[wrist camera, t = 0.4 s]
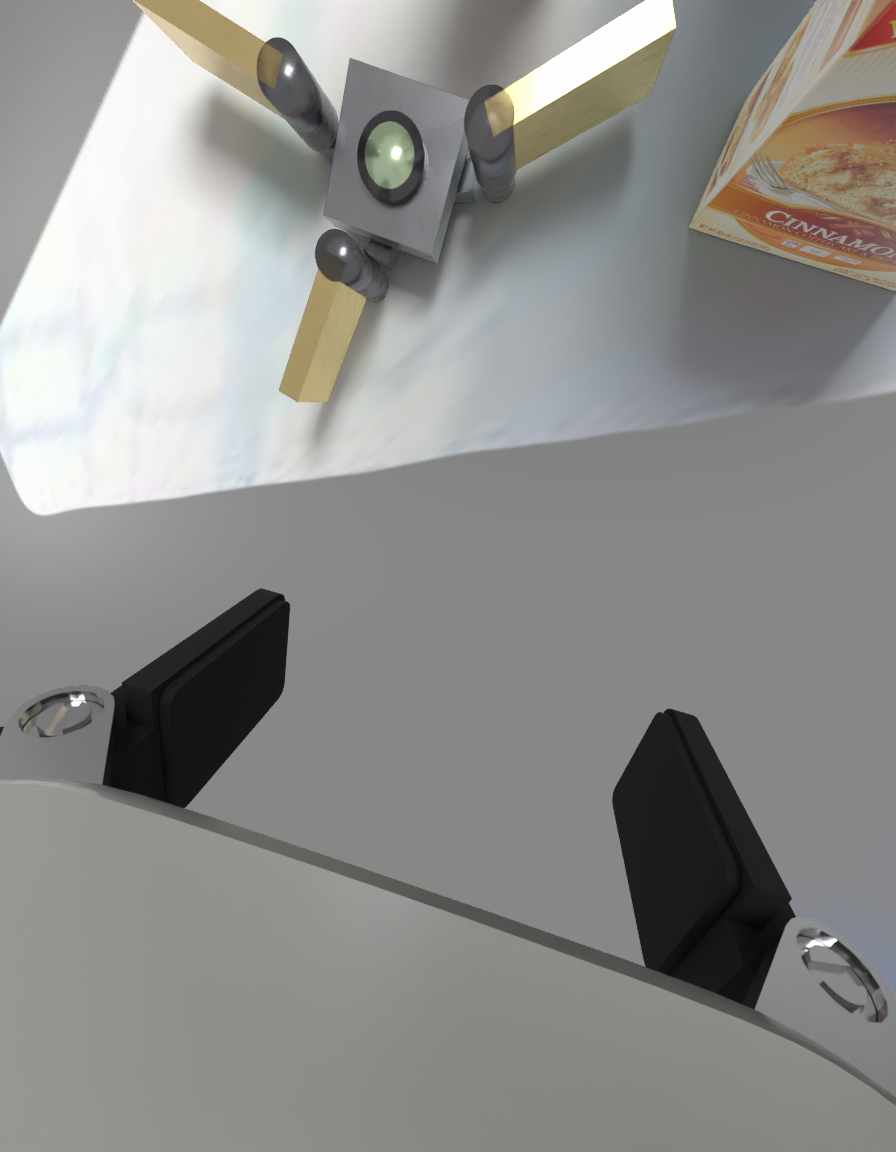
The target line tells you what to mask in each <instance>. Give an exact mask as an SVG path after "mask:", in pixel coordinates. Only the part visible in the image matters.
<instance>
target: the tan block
mask: <svg viewBox="0 0 896 1152" xmlns="http://www.w3.org/2000/svg"><path fill="white" fill-rule="evenodd" d="M315 258H316V263H317V266H318V268H319V269H318V272H317V275H316V278H315V281H314V284H313V287H312V290H311V293H310V296H309V299H308V302H307V305H306V308H305V312H304V315H303V318H302V321H301V324H300V327H299V330H298V333H297V336H296V339H295V342H294V345H293V348H292V351H291V354H290V357H289V360H288V364H287V367H286V370H285V373H284V376H283V379H282V382H281V385H280V388H279V391H280V392H282V393H284V394H285V395H287V396H289V397H290V398H292V399H293V400H295V401H297V402H328V399H329V397H330V394H331V391H332V389H333V386H334V384H335V381H336V378H337V376H338V373H339V370H340V368H341V365H342V363H343V360H344V357H345V355H346V352H347V349H348V347H349V344H350V342H351V339H352V336H353V334H354V331H355V329H356V326H357V323H358V321H359V318H360V315H361V313H362V310H363V308H364V305H365V302H366V300H367V299H369V300H371V301H380V300H382V299H383V298H384V297H385V295H386V293H387V290H388V281H387V278H386V276H385V274H384V273H383V272H382V271H381V270H380V267H379V265H378V263H377V262H376V261H375V259H373V258H372V257H371V256H370V255H369V254H368V253H367V252H366V251H365V250H364V249H363V248H361V247H360V246H359V245H358V244H357V243H356V242H355V241H354V240H353V239H352V238H350V237H349V236H348V235H347V234H346V233H345V232H343V231H341V230H338V229H331V230H328V231H326V232H325V233H324V234H322V236H321V237H320V238H319V240H318V242H317V245H316V250H315Z"/></svg>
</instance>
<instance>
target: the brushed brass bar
mask: <svg viewBox="0 0 896 1152" xmlns="http://www.w3.org/2000/svg"><path fill="white" fill-rule="evenodd" d="M133 1H134V2H135V3H136V4H137V5H138V6H139V7H140V8H141V9H142V11H143V12H144V13H145V14H146V15H147V16H148V17H149V18H150V19H151V20H152V21H153V22H154V23H155V24H156V25H157V26H158V27H159V28H160V29H161V30H162V31H163V32H164V33H165V34H166V35H167V36H168V37H169V38H170V39H171V40H172V41H173V42H174V43H175V44H176V45H177V46H178V47H179V48H180V49H181V50H182V51H183V52H184V53H185V54H186V55H187V56H188V57H189V58H190V59H191V60H192V61H193V62H195V63H196V64H198V65H199V66H201V67H203V68H204V69H206V70H207V71H209V72H210V73H212V74H214V75H215V76H217V77H218V78H220V79H222V80H223V81H225V82H226V83H228V84H229V85H231V86H233V87H234V88H236V89H237V90H239V91H241V92H242V93H244V94H245V95H247V96H249V97H250V98H252V99H253V100H255V101H256V102H258V103H260V104H261V105H263V106H264V107H266V108H268V109H269V110H271V111H272V112H274V113H275V114H277V115H279V116H280V117H282V118H283V119H285V120H286V121H287V122H288V123H289V124H290V126H291V127H292V128H293V129H294V130H295V131H296V132H297V134H298V135H299V136H300V137H301V138H302V139H303V140H304V142H305V143H306V144H307V145H308V146H309V147H310V148H312V149H313V150H316V151H319V152H320V153H321V154H322V156H323V157H324V158H325V159H326V160H327V161H328V162H330V163H332V162H333V156H334V150H335V144H336V138H337V132H338V126H339V122H338V117H337V113H336V111H335V108H334V107H333V105H332V103H331V102H330V100H329V99H328V97H327V96H326V95H325V93H324V92H323V90H322V89H321V87H320V86H319V84H318V83H317V81H316V80H315V78H314V77H313V75H312V74H311V72H310V71H309V69H308V68H307V66H306V65H305V63H304V62H303V60H302V59H301V57H300V56H299V54H298V53H297V51H296V50H295V48H294V47H293V46H292V44H291V43H290V42H288V41H287V40H285V39H283V38H278V37H277V38H272V39H270V40H268V41H267V42H266V43H265V42H264V41H262V40H260V39H259V38H257V37H256V36H254V35H253V34H251V33H250V32H248V31H246V30H245V29H243V28H242V27H240V26H239V25H237V24H235V23H234V22H232V21H231V20H229V19H228V18H226V17H224V16H223V15H221V14H220V13H218V12H217V11H215V10H213V9H212V8H210V7H209V6H207V5H206V4H204V3H202V2H201V1H199V0H133Z"/></svg>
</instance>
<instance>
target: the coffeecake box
mask: <svg viewBox="0 0 896 1152" xmlns="http://www.w3.org/2000/svg"><path fill="white" fill-rule="evenodd" d="M689 227H690V228H691V229H694V230H698V231H701V232H704V233H707V234H710V235H713V236H716V237H719V238H722V239H725V240H728V241H732V242H735V243H738V244H742V245H745V246H748V247H752V248H755V249H758V250H761V251H764V252H768V253H771V254H774V255H777V256H781V257H784V258H787V259H790V260H794V261H797V262H800V263H803V264H807V265H810V266H813V267H817V268H820V269H823V270H827V271H830V272H833V273H837V274H840V275H843V276H846V277H849V278H853V279H856V280H859V281H863V282H866V283H869V284H873V285H876V286H879V287H883V288H886V289H889V290H893V291H896V0H817V1H816V2H815V3H814V5H813V6H812V8H811V9H810V11H809V12H808V13H807V15H806V16H805V18H804V19H803V20H802V22H801V23H800V25H799V26H798V27H797V29H796V30H795V31H794V33H793V34H792V36H791V37H790V38H789V40H788V41H787V42H786V44H785V45H784V46H783V48H782V49H781V51H780V52H779V53H778V55H777V56H776V57H775V59H774V60H773V62H772V63H771V64H770V66H769V67H768V69H767V70H766V71H765V73H764V74H763V76H762V77H761V78H760V80H759V81H758V83H757V84H756V85H755V87H754V88H753V90H752V91H751V93H750V94H749V96H748V97H747V99H746V101H745V103H744V105H743V107H742V109H741V111H740V113H739V115H738V117H737V120H736V122H735V124H734V126H733V128H732V131H731V133H730V135H729V137H728V139H727V142H726V144H725V146H724V148H723V150H722V153H721V155H720V157H719V159H718V161H717V164H716V166H715V168H714V171H713V173H712V175H711V177H710V180H709V182H708V184H707V187H706V189H705V191H704V194H703V196H702V198H701V200H700V203H699V205H698V207H697V210H696V212H695V214H694V216H693V219H692V221H691V223H690V225H689Z"/></svg>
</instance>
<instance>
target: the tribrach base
mask: <svg viewBox="0 0 896 1152" xmlns="http://www.w3.org/2000/svg"><path fill="white" fill-rule="evenodd" d="M469 101H470V100H468V99H465V98H462V97H459V96H456V95H453V94H451V93H448V92H445V91H442V90H439V89H436V88H434V87H431V86H428V85H425V84H422V83H420V82H417V81H414V80H411V79H408V78H405V77H403V76H400V75H397V74H394V73H391V72H389V71H386V70H383V69H380V68H377V67H374V66H372V65H369V64H366V63H363V62H360V61H357V60H355V59H352V58H350V60H349V66H348V72H347V78H346V84H345V90H344V96H343V102H342V108H341V114H340V120H339V126H338V132H337V138H336V144H335V150H334V156H333V162H332V168H331V174H330V180H329V186H328V192H327V198H326V204H325V210H324V216H325V217H326V218H327V219H328V220H329V221H330V222H331V223H333V224H334V225H335V226H336V227H339V228H341V229H344V230H347V231H350V232H352V233H355V234H358V235H360V236H363V237H366V238H368V239H370V242H369V245H368V247H367V250H366V252H367V253H369V254H370V255H371V256H372V257H373V258H374V259H376V260H378V261H379V262H381V263H382V264H384V265H386V266H387V267H389V268H390V269H392V270H393V269H394V266H395V264H396V261H397V259H398V256H399V254H400V251H404V252H406V253H409V254H412V255H415V256H417V257H420V258H423V259H425V260H428V261H431V262H434V263H436V264H437V263H438V259H439V256H440V252H441V248H442V245H443V241H444V237H445V233H446V230H447V226H448V222H449V218H450V215H451V211H452V207H453V204H455V203H465V202H475V201H476V175H475V171H474V167H473V163H472V159H471V158H468V159H466V155H467V152H468V148H469V147H468V143H467V138H466V134H465V130H464V116H465V111H466V108H467V105H468V103H469Z"/></svg>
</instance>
